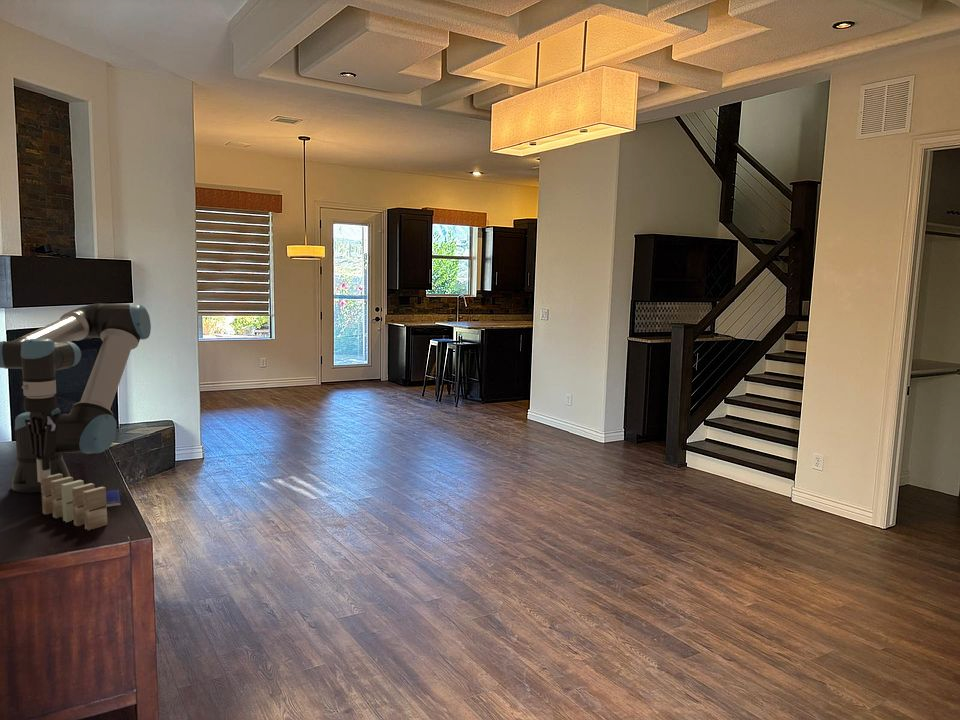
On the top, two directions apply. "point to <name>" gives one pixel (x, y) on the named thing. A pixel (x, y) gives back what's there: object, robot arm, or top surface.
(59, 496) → the domino
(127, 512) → the top surface
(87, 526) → the domino
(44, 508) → the domino
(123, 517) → the top surface
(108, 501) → the hard drive
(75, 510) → the domino
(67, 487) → the domino
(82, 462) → the top surface
